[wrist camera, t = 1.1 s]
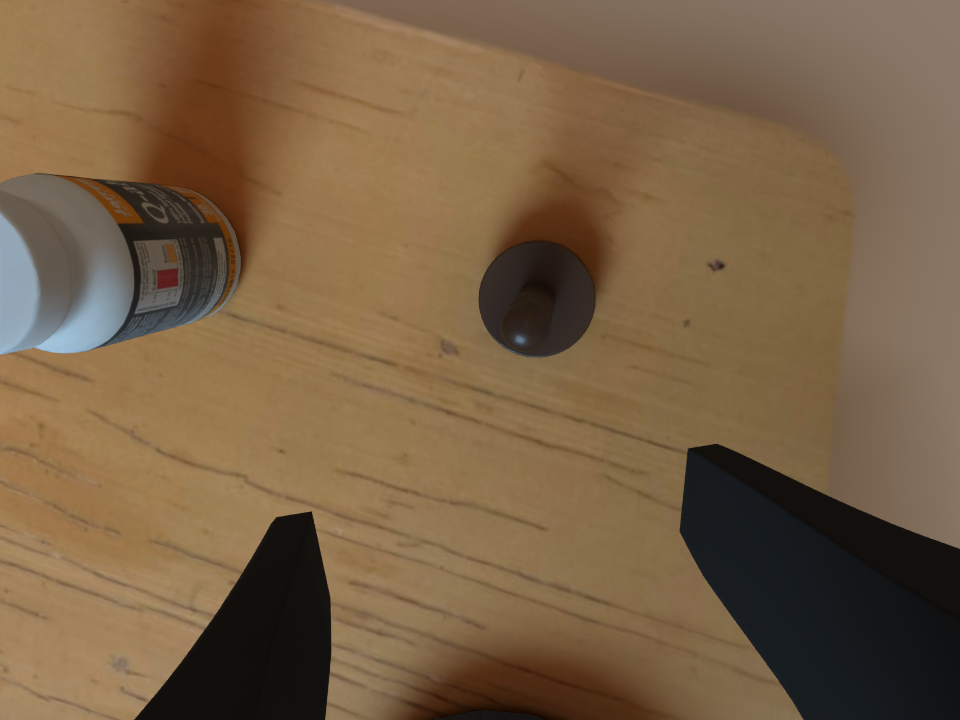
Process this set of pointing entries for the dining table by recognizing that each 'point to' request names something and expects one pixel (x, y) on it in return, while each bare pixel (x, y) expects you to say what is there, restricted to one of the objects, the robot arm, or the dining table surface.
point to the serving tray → (491, 716)
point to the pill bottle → (107, 261)
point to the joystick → (537, 298)
